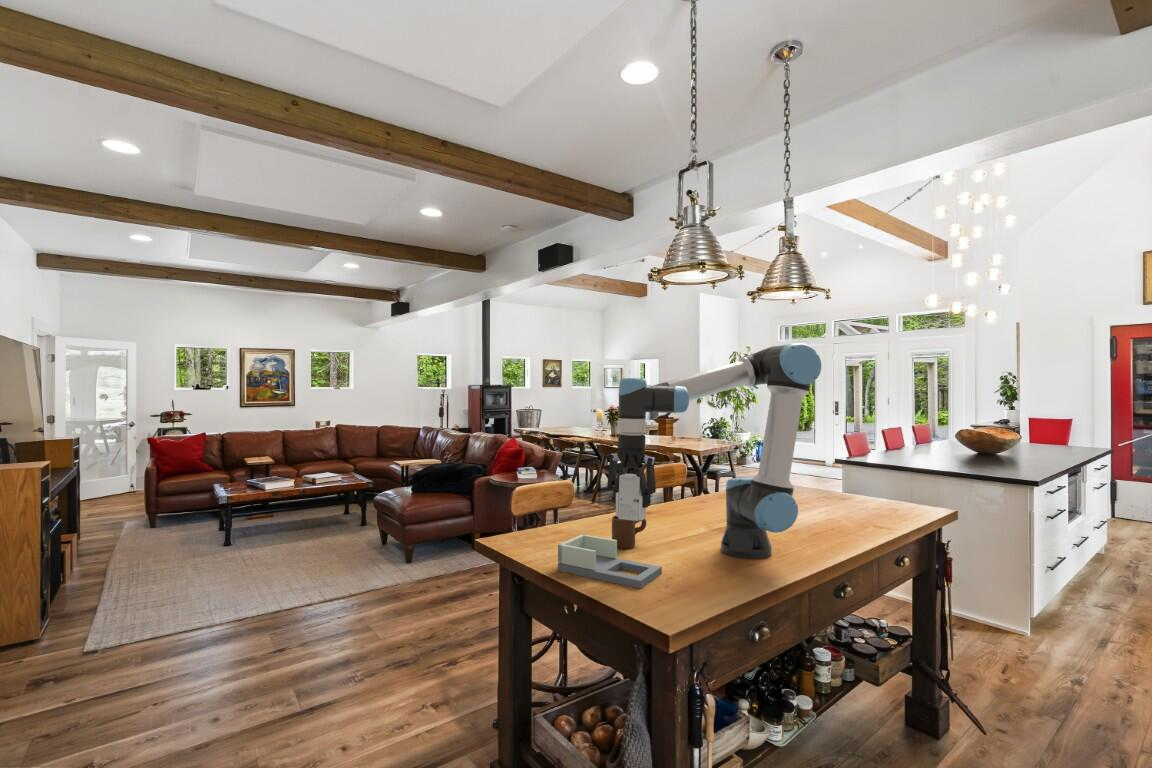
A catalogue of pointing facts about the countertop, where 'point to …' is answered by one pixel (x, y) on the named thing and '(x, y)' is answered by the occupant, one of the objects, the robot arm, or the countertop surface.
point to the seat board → (609, 568)
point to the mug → (625, 532)
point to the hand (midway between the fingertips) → (630, 517)
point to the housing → (586, 550)
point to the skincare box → (629, 497)
